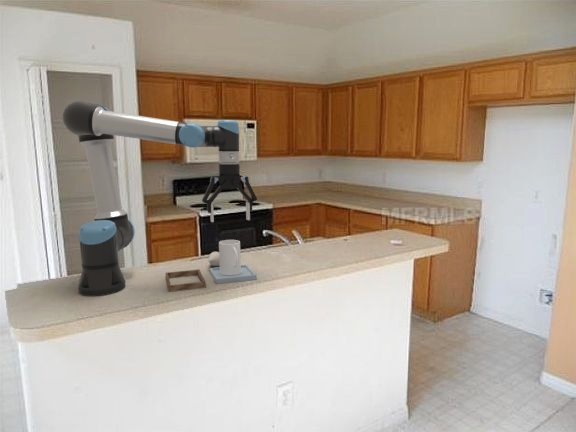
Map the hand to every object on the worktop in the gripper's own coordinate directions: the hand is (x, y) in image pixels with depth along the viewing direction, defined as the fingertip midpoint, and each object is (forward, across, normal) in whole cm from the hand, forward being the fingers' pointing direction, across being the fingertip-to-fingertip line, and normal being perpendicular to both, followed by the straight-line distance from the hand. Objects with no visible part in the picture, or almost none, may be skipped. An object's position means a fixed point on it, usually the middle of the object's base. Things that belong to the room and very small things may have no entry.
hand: (230, 220), depth 159 cm
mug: (+21, 0, 0) cm, 21 cm away
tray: (+22, 0, 0) cm, 22 cm away
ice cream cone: (+22, -4, +15) cm, 27 cm away
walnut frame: (+22, -18, -2) cm, 28 cm away
